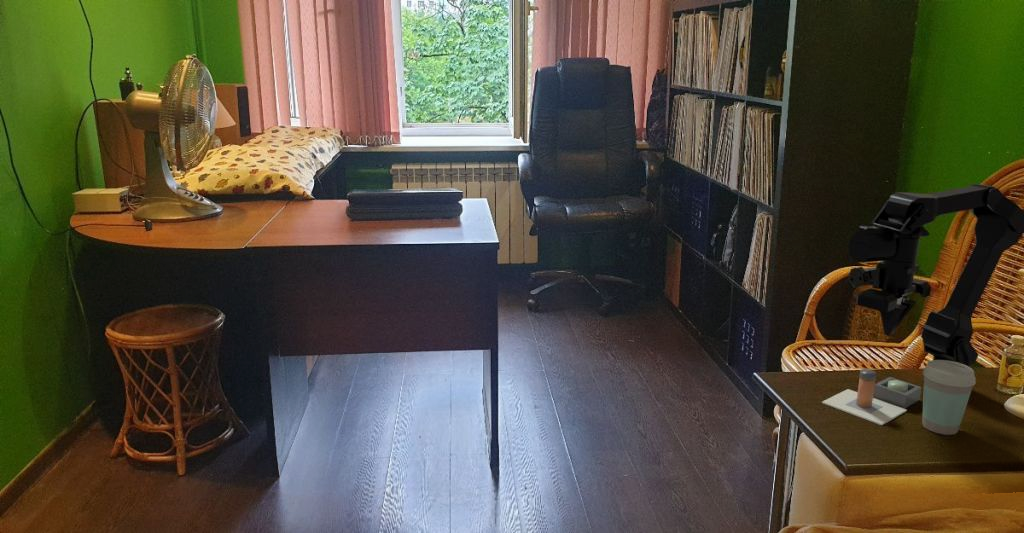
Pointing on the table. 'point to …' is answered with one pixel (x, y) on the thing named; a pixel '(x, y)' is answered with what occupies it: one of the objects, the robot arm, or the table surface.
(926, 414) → the coffee cup
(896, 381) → the button
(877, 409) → the paper
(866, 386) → the marker
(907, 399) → the button housing
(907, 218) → the robot arm
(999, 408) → the table surface
